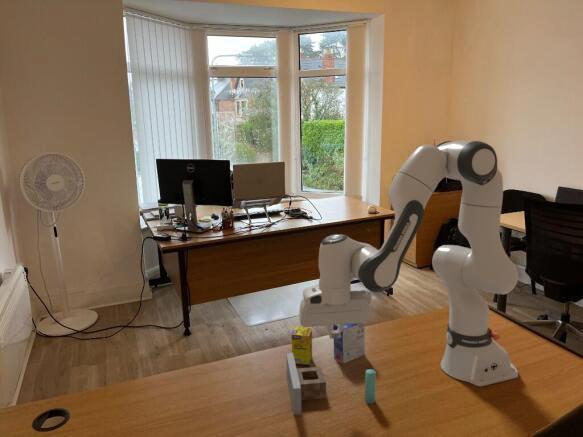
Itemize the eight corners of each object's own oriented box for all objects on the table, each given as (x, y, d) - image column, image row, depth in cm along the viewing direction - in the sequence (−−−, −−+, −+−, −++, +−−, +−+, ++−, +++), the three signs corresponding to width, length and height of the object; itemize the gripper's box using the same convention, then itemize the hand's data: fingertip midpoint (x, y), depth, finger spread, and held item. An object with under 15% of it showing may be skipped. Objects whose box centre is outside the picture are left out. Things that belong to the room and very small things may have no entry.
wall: (293, 376, 134) (292, 352, 133) (301, 414, 117) (300, 388, 115) (286, 376, 134) (286, 353, 132) (293, 414, 117) (293, 388, 115)
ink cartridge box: (354, 348, 150) (355, 309, 147) (365, 354, 146) (366, 315, 143) (332, 357, 145) (332, 317, 142) (343, 364, 140) (343, 323, 137)
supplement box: (309, 367, 139) (309, 336, 137) (291, 365, 140) (291, 334, 138) (312, 357, 145) (312, 327, 142) (295, 355, 146) (294, 326, 144)
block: (320, 381, 131) (320, 366, 130) (326, 397, 124) (326, 382, 123) (294, 383, 131) (294, 368, 129) (298, 400, 123) (298, 384, 122)
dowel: (373, 397, 124) (374, 368, 122) (376, 403, 121) (377, 374, 119) (363, 398, 123) (364, 369, 121) (366, 404, 121) (367, 375, 119)
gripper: (367, 285, 125) (367, 329, 128) (297, 290, 123) (298, 334, 126) (374, 294, 119) (373, 340, 122) (300, 299, 117) (301, 345, 120)
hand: (334, 337), depth 124 cm, fingers closed
